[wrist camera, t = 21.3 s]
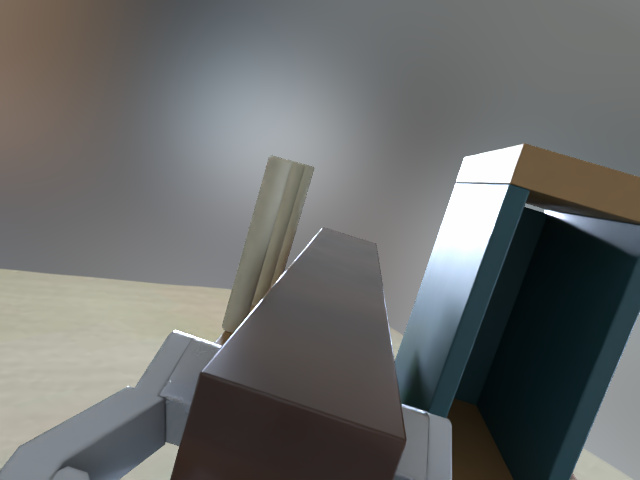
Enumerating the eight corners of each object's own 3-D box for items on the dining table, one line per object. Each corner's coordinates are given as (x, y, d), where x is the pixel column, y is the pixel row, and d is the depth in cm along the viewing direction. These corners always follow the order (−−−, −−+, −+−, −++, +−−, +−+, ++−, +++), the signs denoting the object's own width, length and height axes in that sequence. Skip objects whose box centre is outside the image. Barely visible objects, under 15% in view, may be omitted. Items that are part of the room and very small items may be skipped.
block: (342, 623, 8) (407, 441, 7) (149, 554, 8) (198, 371, 8) (359, 295, 30) (376, 243, 29) (307, 279, 30) (322, 226, 29)
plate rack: (457, 835, 18) (736, 193, 14) (106, 704, 19) (282, 61, 15) (420, 577, 30) (568, 187, 26) (205, 502, 31) (318, 113, 27)
